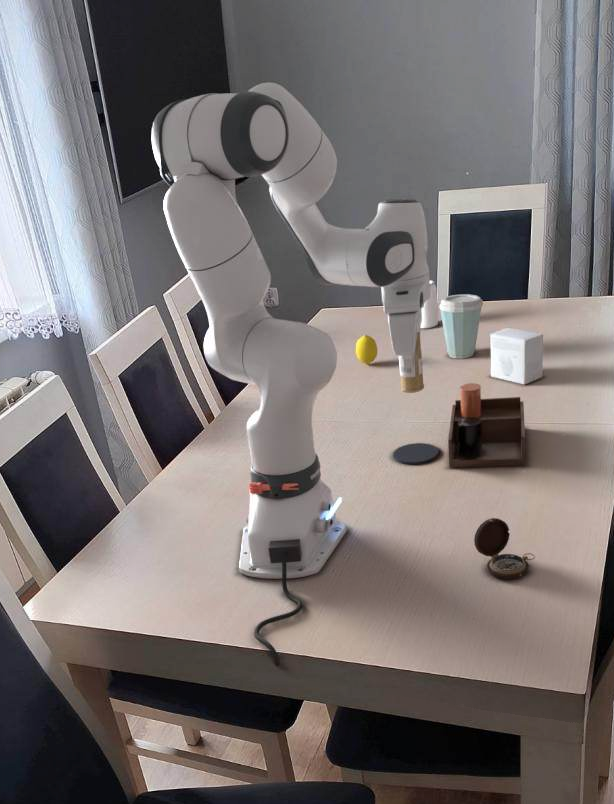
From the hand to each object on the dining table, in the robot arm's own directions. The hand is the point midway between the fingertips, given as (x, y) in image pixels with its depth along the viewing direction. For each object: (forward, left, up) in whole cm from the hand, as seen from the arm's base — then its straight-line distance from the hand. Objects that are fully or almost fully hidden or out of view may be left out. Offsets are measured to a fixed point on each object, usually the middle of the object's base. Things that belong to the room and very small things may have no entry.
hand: (410, 362), depth 167 cm
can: (+86, +4, -20) cm, 88 cm away
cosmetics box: (+41, -20, -20) cm, 50 cm away
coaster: (0, 0, -20) cm, 20 cm away
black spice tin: (-1, -11, -20) cm, 22 cm away
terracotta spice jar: (+8, -11, -15) cm, 20 cm away
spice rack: (+2, -14, -20) cm, 24 cm away
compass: (-42, -18, -20) cm, 50 cm away
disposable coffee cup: (+59, -7, -20) cm, 63 cm away
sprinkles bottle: (0, 0, -6) cm, 6 cm away
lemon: (+56, +17, -20) cm, 62 cm away
